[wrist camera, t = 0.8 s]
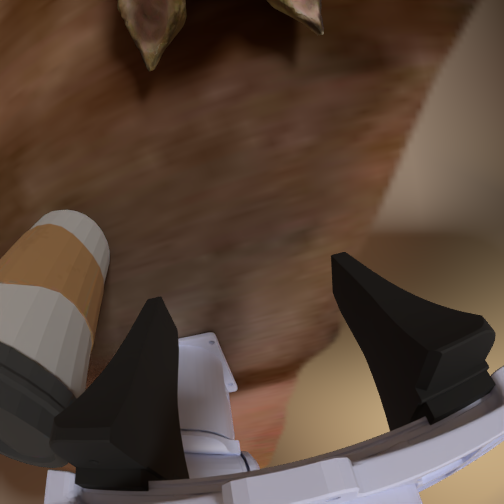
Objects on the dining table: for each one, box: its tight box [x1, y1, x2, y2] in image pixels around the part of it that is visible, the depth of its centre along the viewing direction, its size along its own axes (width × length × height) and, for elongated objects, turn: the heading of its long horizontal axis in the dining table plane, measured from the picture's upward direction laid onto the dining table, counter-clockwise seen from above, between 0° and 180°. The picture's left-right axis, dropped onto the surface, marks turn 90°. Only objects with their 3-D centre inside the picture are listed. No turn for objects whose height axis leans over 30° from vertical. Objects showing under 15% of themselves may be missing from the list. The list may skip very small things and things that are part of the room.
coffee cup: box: [0, 210, 110, 468], centre depth 15 cm, size 8×8×15 cm
